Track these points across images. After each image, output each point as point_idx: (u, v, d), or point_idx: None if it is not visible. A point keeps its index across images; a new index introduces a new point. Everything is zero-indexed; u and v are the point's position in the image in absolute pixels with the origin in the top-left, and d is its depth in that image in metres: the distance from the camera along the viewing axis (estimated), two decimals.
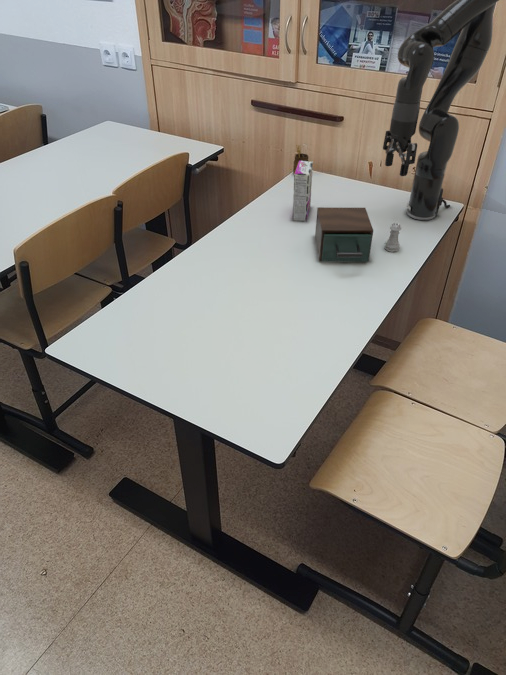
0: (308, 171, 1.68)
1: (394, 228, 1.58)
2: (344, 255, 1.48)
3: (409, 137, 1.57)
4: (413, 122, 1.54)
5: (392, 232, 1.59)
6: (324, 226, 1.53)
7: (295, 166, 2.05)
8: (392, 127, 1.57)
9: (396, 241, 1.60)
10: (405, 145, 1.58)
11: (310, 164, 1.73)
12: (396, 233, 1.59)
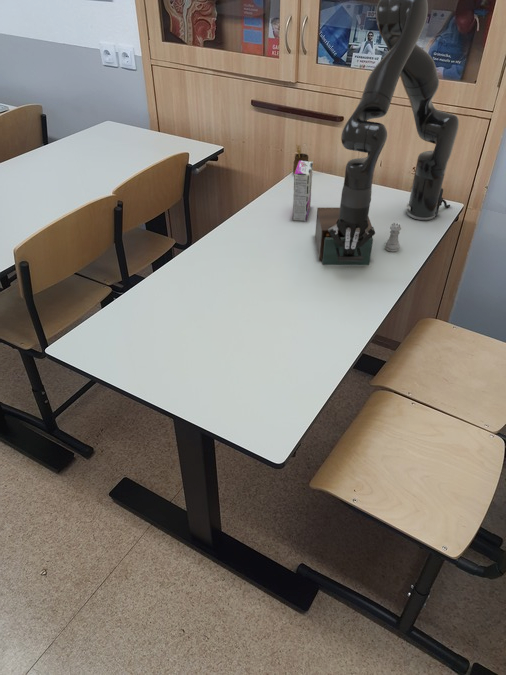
0: (308, 171, 1.68)
1: (394, 228, 1.58)
2: (345, 259, 1.47)
3: None
4: None
5: (392, 232, 1.59)
6: (324, 226, 1.53)
7: (295, 166, 2.05)
8: (356, 216, 1.37)
9: (396, 241, 1.60)
10: (367, 226, 1.42)
11: (310, 164, 1.73)
12: (396, 233, 1.59)
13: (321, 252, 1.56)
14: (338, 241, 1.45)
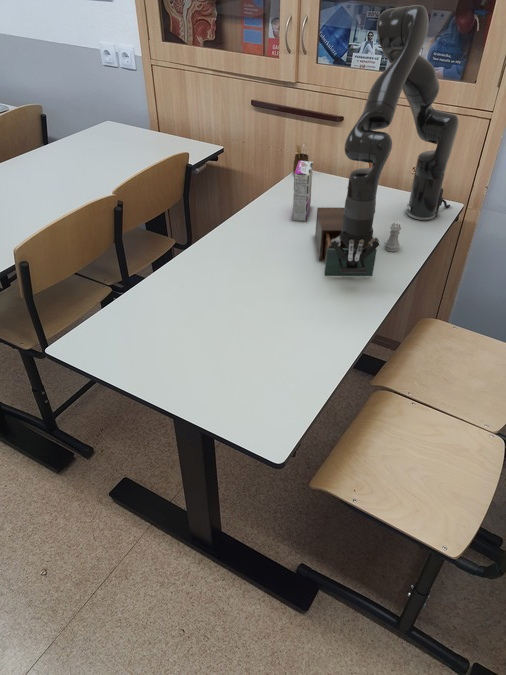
0: (308, 171, 1.68)
1: (394, 228, 1.58)
2: (348, 270, 1.42)
3: None
4: None
5: (392, 232, 1.59)
6: (324, 226, 1.53)
7: (295, 166, 2.05)
8: (360, 228, 1.33)
9: (396, 241, 1.60)
10: (371, 238, 1.38)
11: (310, 164, 1.73)
12: (396, 233, 1.59)
13: (321, 252, 1.56)
14: (341, 253, 1.40)
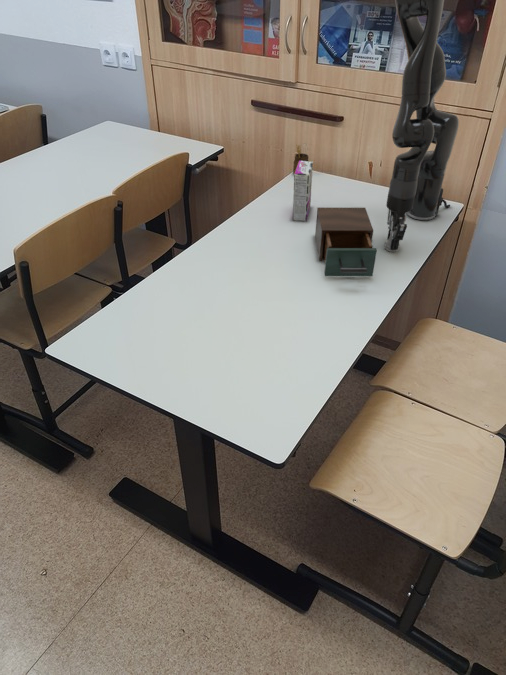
0: (308, 171, 1.68)
1: None
2: (348, 270, 1.42)
3: None
4: None
5: (392, 232, 1.59)
6: (324, 226, 1.53)
7: (295, 166, 2.05)
8: None
9: None
10: None
11: (310, 164, 1.73)
12: None
13: (321, 252, 1.56)
14: None
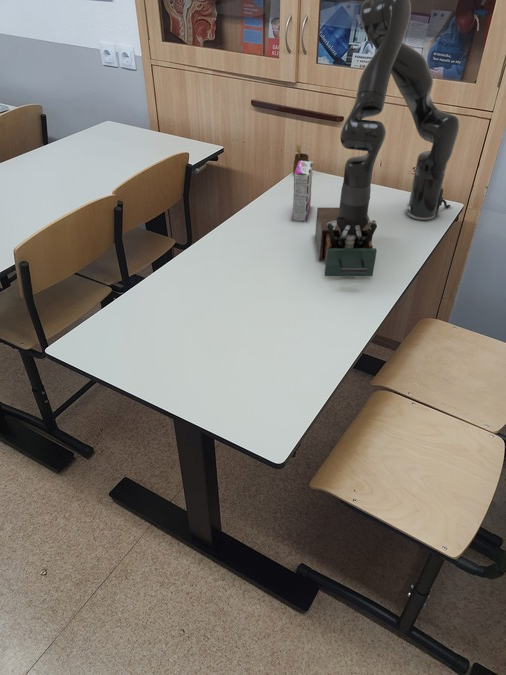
0: (308, 171, 1.68)
1: None
2: (348, 271, 1.42)
3: None
4: None
5: None
6: (324, 226, 1.53)
7: (295, 166, 2.05)
8: (356, 214, 1.39)
9: None
10: (366, 223, 1.44)
11: (310, 164, 1.73)
12: (345, 241, 1.48)
13: (321, 252, 1.56)
14: (332, 237, 1.47)
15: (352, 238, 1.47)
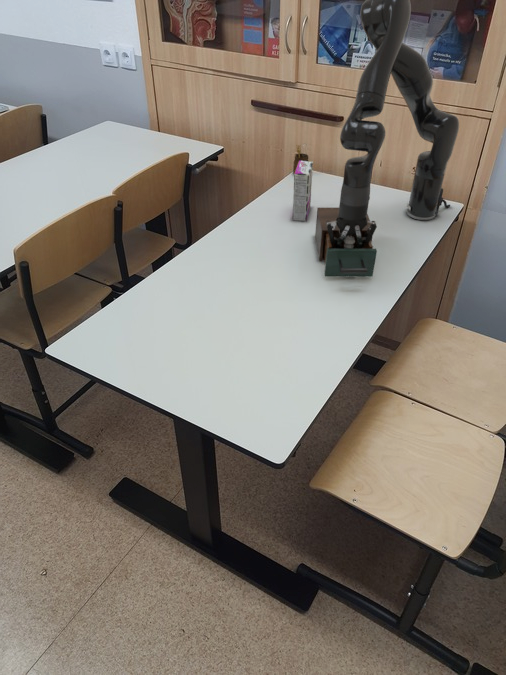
0: (308, 171, 1.68)
1: (345, 238, 1.49)
2: (348, 271, 1.42)
3: None
4: None
5: None
6: (324, 226, 1.53)
7: (295, 166, 2.05)
8: (355, 214, 1.40)
9: None
10: (366, 224, 1.45)
11: (310, 164, 1.73)
12: (344, 245, 1.49)
13: (321, 252, 1.56)
14: (332, 237, 1.47)
15: (351, 242, 1.48)
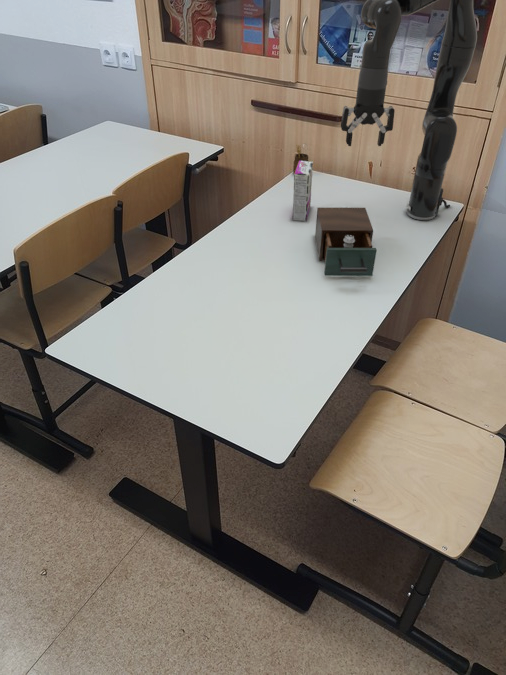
0: (308, 171, 1.68)
1: None
2: (348, 270, 1.42)
3: None
4: None
5: None
6: (324, 226, 1.53)
7: (295, 166, 2.05)
8: (373, 98, 1.42)
9: None
10: (383, 112, 1.47)
11: (310, 164, 1.73)
12: (344, 244, 1.50)
13: (321, 252, 1.56)
14: (344, 123, 1.48)
15: (351, 241, 1.48)
